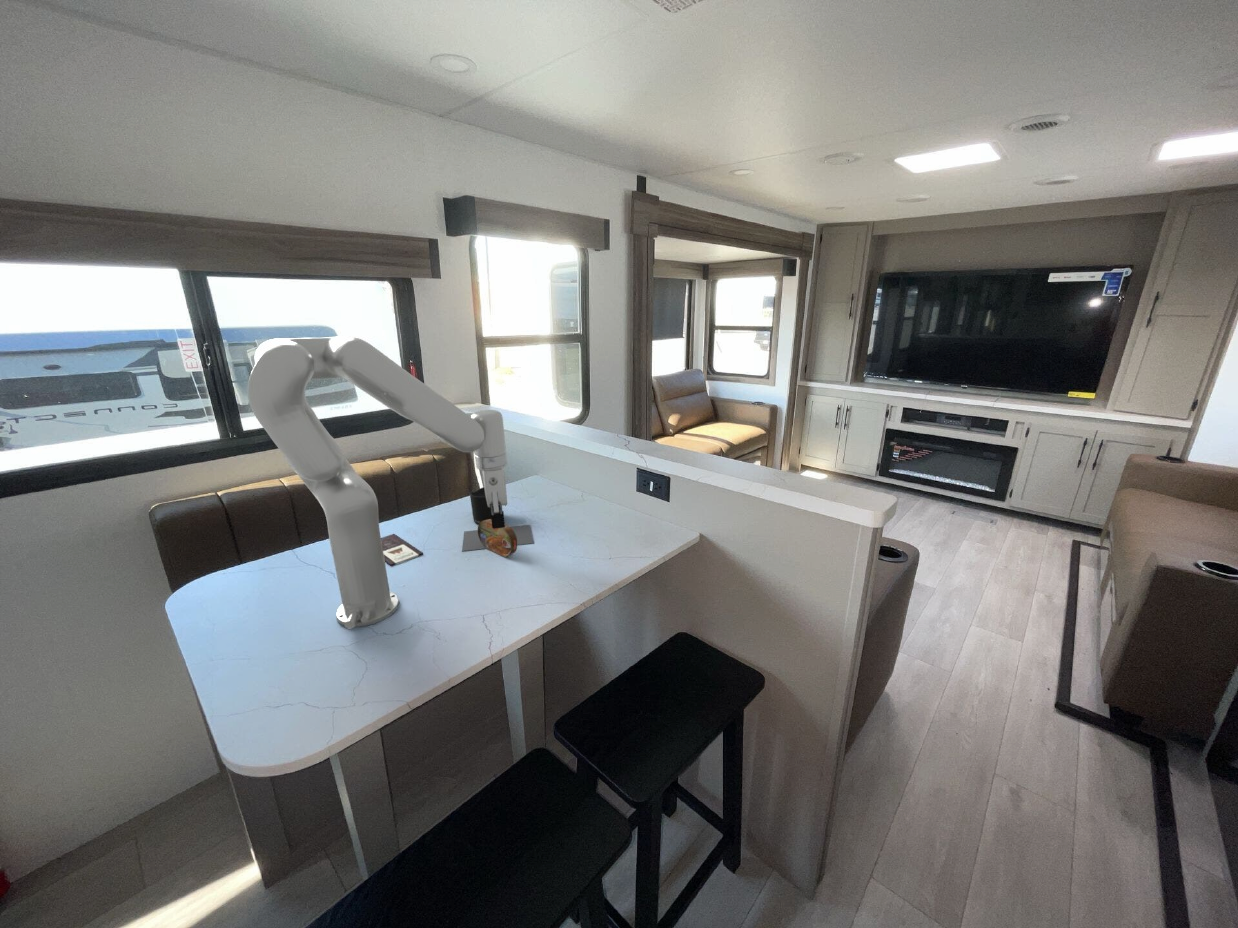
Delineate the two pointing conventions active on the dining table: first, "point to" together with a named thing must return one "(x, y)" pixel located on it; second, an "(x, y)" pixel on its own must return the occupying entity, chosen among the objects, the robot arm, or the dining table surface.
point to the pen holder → (480, 506)
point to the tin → (497, 538)
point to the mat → (474, 543)
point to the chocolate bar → (398, 550)
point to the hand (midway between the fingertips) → (498, 526)
